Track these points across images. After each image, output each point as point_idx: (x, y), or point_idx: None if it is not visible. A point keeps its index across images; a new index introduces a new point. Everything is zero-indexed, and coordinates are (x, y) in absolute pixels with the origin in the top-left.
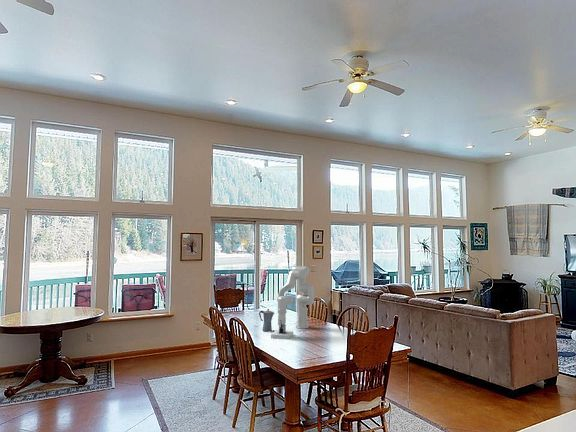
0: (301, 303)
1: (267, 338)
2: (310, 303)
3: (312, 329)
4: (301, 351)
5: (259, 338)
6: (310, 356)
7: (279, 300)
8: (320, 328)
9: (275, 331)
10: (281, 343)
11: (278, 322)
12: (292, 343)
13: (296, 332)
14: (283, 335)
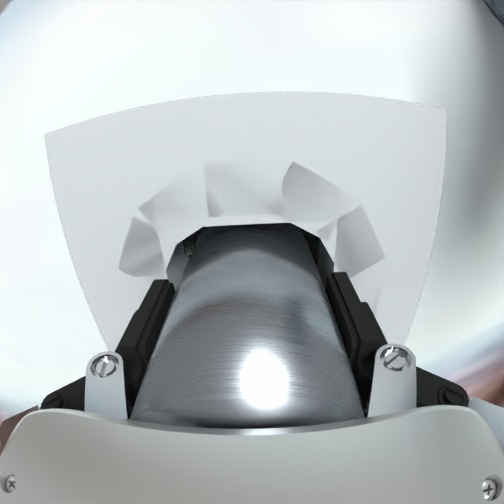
0: None
1: (49, 92)
2: None
3: (497, 389)
4: (8, 408)
5: (36, 4)
6: (3, 420)
7: None
8: (498, 405)
9: (340, 114)
10: (3, 323)
11: (1, 482)
12: (55, 390)
13: (456, 348)
14: (109, 344)
